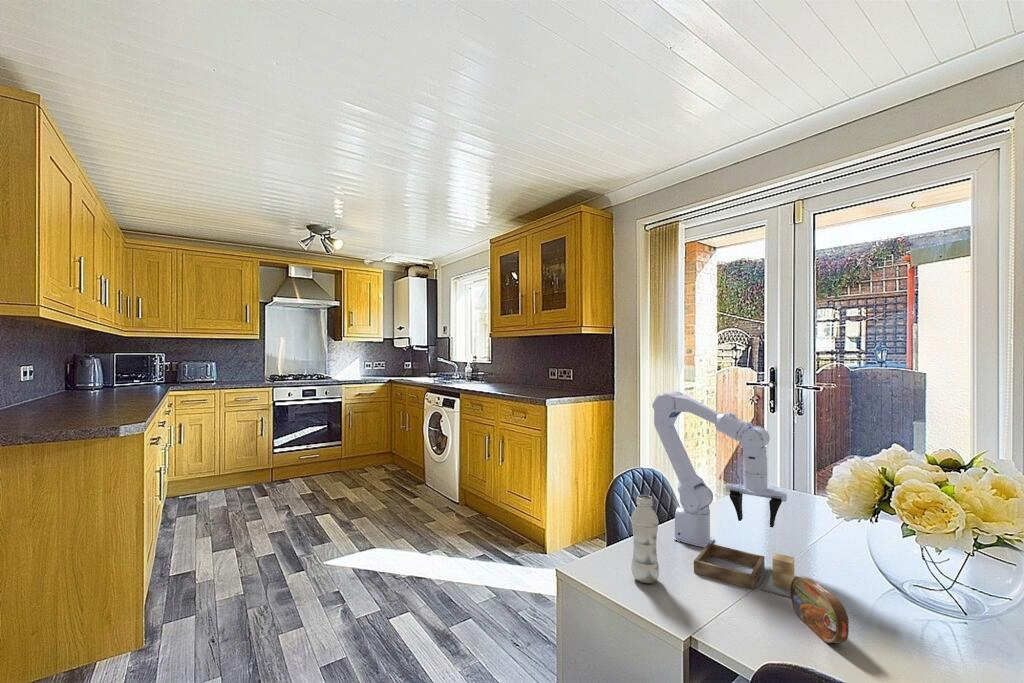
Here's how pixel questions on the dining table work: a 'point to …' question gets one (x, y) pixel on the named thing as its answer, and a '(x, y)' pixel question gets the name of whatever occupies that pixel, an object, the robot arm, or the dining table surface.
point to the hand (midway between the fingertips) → (755, 522)
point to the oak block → (783, 570)
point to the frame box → (727, 573)
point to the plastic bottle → (644, 541)
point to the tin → (819, 610)
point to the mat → (774, 586)
